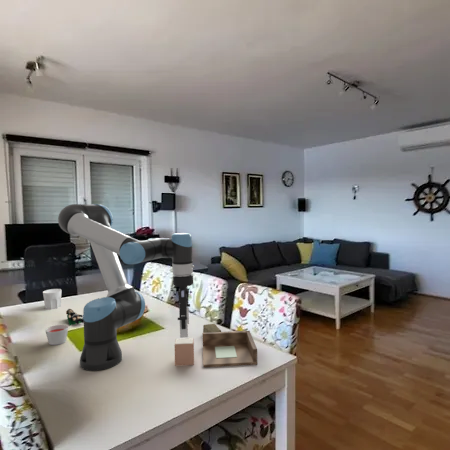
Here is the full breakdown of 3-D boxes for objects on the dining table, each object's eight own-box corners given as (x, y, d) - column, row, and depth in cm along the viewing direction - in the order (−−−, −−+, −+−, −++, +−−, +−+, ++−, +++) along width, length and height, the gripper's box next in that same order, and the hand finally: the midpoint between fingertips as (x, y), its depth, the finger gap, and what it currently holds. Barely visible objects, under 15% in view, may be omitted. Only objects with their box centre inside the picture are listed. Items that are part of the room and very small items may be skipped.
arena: (203, 367, 120) (203, 351, 120) (202, 346, 138) (202, 332, 138) (257, 364, 122) (257, 348, 121) (249, 344, 139) (249, 330, 139)
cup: (50, 304, 202) (50, 288, 202) (65, 305, 201) (65, 289, 200) (39, 309, 192) (38, 292, 192) (55, 310, 191) (54, 293, 190)
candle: (42, 342, 144) (42, 328, 144) (64, 336, 151) (63, 323, 151) (50, 348, 138) (49, 333, 138) (72, 341, 145) (71, 327, 145)
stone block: (210, 344, 141) (210, 332, 141) (202, 334, 152) (202, 324, 151) (222, 341, 143) (222, 330, 143) (214, 332, 154) (214, 322, 154)
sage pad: (216, 358, 125) (216, 357, 125) (214, 347, 135) (214, 346, 135) (237, 357, 125) (237, 356, 125) (234, 346, 135) (234, 345, 135)
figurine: (72, 321, 162) (60, 309, 172) (72, 331, 163) (60, 319, 173) (88, 317, 168) (75, 305, 178) (87, 327, 169) (75, 315, 179)
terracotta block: (174, 365, 122) (174, 344, 121) (175, 359, 127) (175, 338, 126) (193, 364, 122) (193, 343, 122) (194, 358, 127) (193, 337, 127)
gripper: (192, 281, 110) (194, 342, 111) (193, 268, 135) (195, 318, 136) (170, 282, 110) (172, 344, 111) (175, 268, 135) (177, 319, 136)
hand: (184, 330), depth 124 cm, fingers open, 13 cm apart
